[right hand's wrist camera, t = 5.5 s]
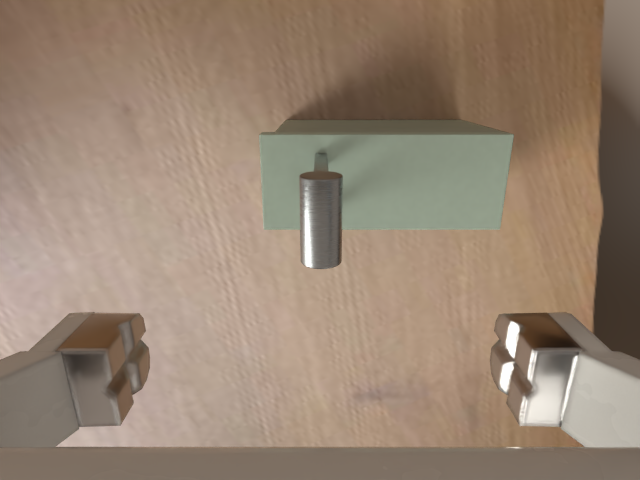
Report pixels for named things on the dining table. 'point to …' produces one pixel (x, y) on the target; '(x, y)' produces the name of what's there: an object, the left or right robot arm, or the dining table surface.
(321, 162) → the lid
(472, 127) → the chest
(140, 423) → the dining table surface
